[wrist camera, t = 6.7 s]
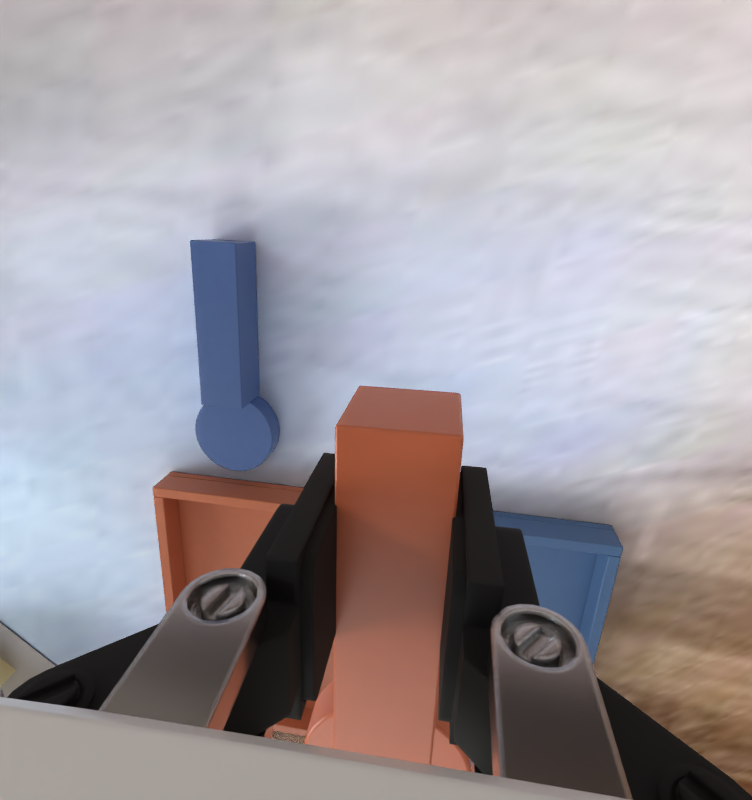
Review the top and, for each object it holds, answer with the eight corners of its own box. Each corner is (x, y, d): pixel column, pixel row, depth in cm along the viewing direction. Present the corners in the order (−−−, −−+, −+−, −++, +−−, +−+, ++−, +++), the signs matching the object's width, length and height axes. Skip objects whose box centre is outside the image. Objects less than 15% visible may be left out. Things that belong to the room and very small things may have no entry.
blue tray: (403, 499, 28) (400, 518, 26) (611, 524, 26) (623, 547, 25) (386, 721, 34) (382, 751, 32) (557, 752, 32) (563, 784, 30)
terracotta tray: (171, 471, 30) (151, 487, 28) (355, 493, 28) (348, 512, 26) (191, 687, 35) (177, 712, 33) (345, 714, 34) (339, 743, 32)
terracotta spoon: (309, 380, 11) (272, 420, 9) (514, 396, 10) (531, 442, 8) (314, 768, 15) (290, 864, 13) (461, 793, 14) (463, 898, 12)
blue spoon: (192, 238, 25) (166, 238, 23) (277, 243, 24) (258, 244, 22) (207, 457, 29) (186, 476, 27) (280, 465, 28) (265, 485, 26)
